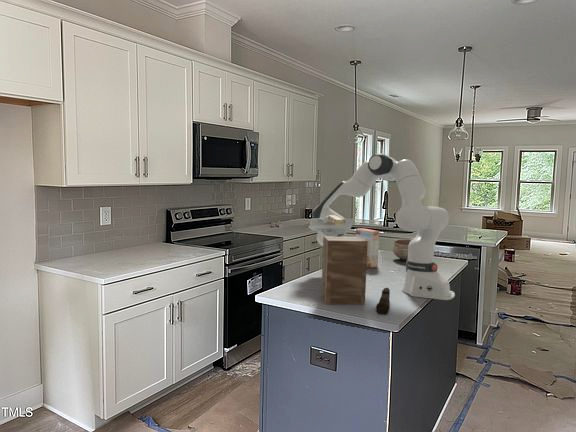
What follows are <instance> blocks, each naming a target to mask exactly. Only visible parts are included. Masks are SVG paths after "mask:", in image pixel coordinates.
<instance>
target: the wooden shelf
mask: <svg viewBox="0 0 576 432" xmlns="http://www.w3.org/2000/svg"><path fill="white" fill-rule="evenodd" d="M367 247H368V241H367V240H365V239H364V238H362V237H356V236H352V235H351V236H350V235H349V236H348V235H343V236H323V246H322V267H321V268H322V269H321V270H322V271H321V272H322V274H321V298H322V300H323V302H324V303H325V305H365V304H366V290H367V288H366V286H367V268H368V267H367Z"/></svg>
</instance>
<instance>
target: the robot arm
mask: <svg viewBox="0 0 576 432" xmlns="http://www.w3.org/2000/svg"><path fill="white" fill-rule="evenodd" d="M379 179H382V180H383V181H386V182H390V183H396V185H397V188H398V190H399V194H400V197H401V207H400V209H399V210H398V211H397V213H396V216H395V221H396V225H397V226H398V228H399V229H400V230H403V231H409V232H417V234H416V236H415V237H414V238H412V239H413V240H411V241H410V243H409V245H408V260H407V261H405V262H406V263H405V272H406V275H405V280H404V283H403V287H402V290H401V291H402V292H404V293H406V294H407V295H409V296H411V297H416V298H422V299H423V298H425V299H433V300H443V301H449V300H452V299H454V298H455V296H456V294H455V292H454V291H453V290H451V287H450V282H449V280H448V279H447V278H445V277H444V276H443V275H442V274H441V273H440V272H439V271H438V267H439V266H438V265H439V264H438V263H435V262H434V253H435V246H436V242H437V240H438V238H439V235H440V234H441V232H442V231H443V229H445V228H446V227H447V226H448V224H449V222H450V215H449V212H448V211H447V210H446V209H445V208H443V207H440V206H435V205H432V206H431V205H428V206H427V205H425V206H424V205H423V204H422V200H423V199H424V198H425V196H426V193H427V190H426V187H425V185H424V182H423V180H422V176H421V175H420V172H419V170H418V169H417V166H416V165H415V164H414V162H413V161H412V160H410V159H401V160H399V161H398V160H396V159H395V158H394V157H391V156H389V155H386V154H384V153H375V154H373V155H372V156H371V157H370V158H369V159H368V160H365V161H364V162H362V164H361V165H360V166H359V167H358V168H357V169H356V170H355V172H354V173H353V175H352V176H351V178H350V179H348V180H342V181H341V182H340V183H338V184H337V186H335V187H334V188H333V190H332V191H331V192H330V193H329V194H328V195H327V196H326V197H325V198H324V199H323V200H322V202H321V203H320V204H318V205H317V206H316V207H314V209H313V211H312V213H311V215H312V216H311V217H312V218H310V220H309V221H310V222H309V225H308V229H310V230H311V231H315V232H316V231H317V232H316V241H317V243H318V244H319V245H320V246H322V247H323V236H347V233H348V232H349V231H350V230H351V228H352V226H353V224H352V219H350V218H345V216H342V215H341V214H339V213H338V212H336V211H334V210H333V209H332V208H330V206H331V204H332V203H333V202H334V201H335V200H336V199H337V198H338V197H339V196H341V195H345V196H349V197H352V198H353V197H355V198H360V197H361V198H362V197H364V196H366V195H367V193H369V191H370V190H371V189H372V187H373V186H374V184H375V183H376V182H377V181H378V180H379ZM328 215H336V216H337V217H339V218H341V219H342V220H343V226H341V225H335V224H333V223H332V222H330V217H328Z"/></svg>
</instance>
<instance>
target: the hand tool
mask: <svg viewBox="0 0 576 432" xmlns="http://www.w3.org/2000/svg"><path fill="white" fill-rule="evenodd" d="M390 294H391V292H390V288H389V287H384V288H383V289H382V291H381V296H380V298H379V301H378V303H377V304H376V307H375V312H376V313H377V315H388V313H389V310H390V296H391V295H390Z"/></svg>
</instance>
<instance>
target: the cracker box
mask: <svg viewBox="0 0 576 432" xmlns="http://www.w3.org/2000/svg"><path fill="white" fill-rule="evenodd" d="M355 237H362V238H364V239H365V240H367V241H368V247H367V268H370V269H372V268H378V266H379V249H380V248H379V247H380V246H379V245H380V230H374V229H369V228H363V227H362V228H361V227H360V228H359V227H358V228H355Z"/></svg>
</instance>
